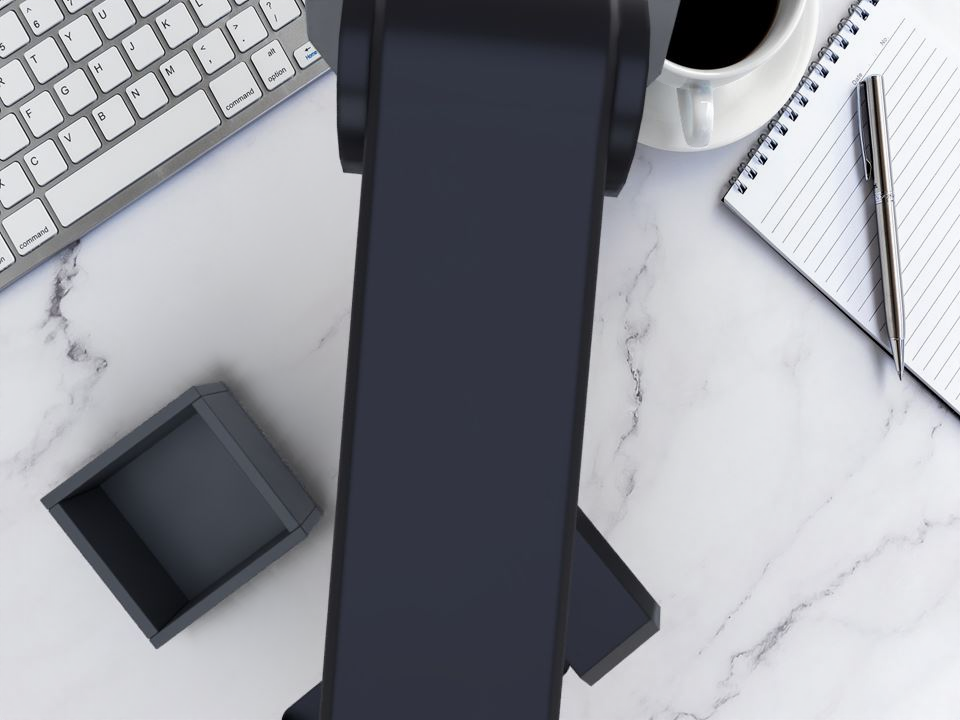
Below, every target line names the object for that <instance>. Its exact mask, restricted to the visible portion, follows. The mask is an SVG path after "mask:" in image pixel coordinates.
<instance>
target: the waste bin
mask: <svg viewBox="0 0 960 720" xmlns="http://www.w3.org/2000/svg"><path fill="white" fill-rule="evenodd" d="M39 501H40V503H41V504H42V506H43V507H44V508H45V509H46V510H47V511H48V513H49V514H50V516H51V517H52V518H53V520H54V521H55V522H56V524H58V526H59V527H60V529H62V531H63V532H64V533H65V535H66V536H67V537H68V539H69V540H70V542H72V544H73V545H74V546H75V548H76V549H77V550H78V551H79V553H80V554H81V555H82V557H83V558H84V559H85V560H86V562H87V563H88V564H89V566H90V567H91V568H92V569H93V571H94V572H95V574H96V575H98V577H99V578H100V580H101V582H103V583H104V585H105V586H106V587H107V589H108V590H109V591H110V592H111V594H112V595H113V596H114V598H115V599H116V600H117V601H118V603H119V604H120V605H121V607H122V608H123V609H124V610H125V612H126V614H128V616H129V617H130V618H131V620H132V621H133V622H134V624H136V626H137V627H138V628H139V630H140V631H141V632H142V634H143V635H144V636H145V637H146V638H147V640H148V641H149V642H150V644H151V645H152V646H153V647H154V649H155V650H159V649H160V648H161V647H163V646H164V645H165V644H167V643H169V641H171V640H172V639H173V638H174V637H176V636H177V635H178V634H180V633H182V632H183V631H184V630H186V628H188V627H189V626H191V625H192V624H193V623H194V622H196V621H198V620H199V619H200V618H201V617H203V616H204V615H205V614H207V613H208V612H209V611H211V610H212V609H213V608H215V607H216V606H218V605H219V604H220V603H221V602H222V601H224V600H225V599H227V598H229V596H231V595H233V593H235V592H236V591H237V590H239V589H240V588H241V587H242V586H244V585H246V584H247V583H248V582H250V581H251V580H252V579H254V578H255V577H256V576H258V574H260V573H261V572H263V571H264V570H265V569H266V568H267V569H268V567H269V566H271V565H272V564H273V563H275V562H276V561H277V560H279V559H280V558H281V557H282V556H284V555H285V554H287V553H288V552H290V551H291V550H292V549H294V548H295V547H296V546H298V545H299V544H300V543H301V542H303V541H304V540H305V539H306V538H308V537H309V535H311V533H312V532H313V530H314V528H315V527H316V526H317V524H319V521H320V520H321V518H323V516H324V514H325V513H324V512H323V510H322V509H321V507H320V506H319V504H317V502H316V501H315V499H314V498H313V497H312V496H311V494H310V493H309V492H308V491H307V489H306V488H305V487H304V485H303V484H302V483H301V481H300V480H299V479H298V477H297V476H296V475H295V473H294V472H293V471H292V469H291V468H290V467H289V465H288V464H287V463H286V461H284V459H283V458H282V457H281V455H280V454H279V453H278V452H277V450H276V448H275V447H274V446H273V444H272V443H271V442H270V441H269V439H268V437H266V436H265V434H264V433H263V431H262V430H261V429H260V428H259V426H258V425H257V424H256V422H255V421H254V420H253V418H252V417H251V416H250V414H249V412H247V411H246V409H245V408H244V406H243V405H242V404H241V403H240V401H239V400H238V399H237V397H236V396H235V395H234V394H233V392H232V391H231V390H230V388H229V387H228V386H227V384H226V383H225V382H224V381H223V380H220V381H215V382H209V383H203V384H197V385H192V386H191V387H189V388H188V389H186V390H185V391H184V392H183V393H181V394H179V396H177V397H176V398H174V399H173V400H172V401H170V402H169V403H168V404H167V405H165V406H163V408H161V409H159V410H158V411H157V412H156V413H153V415H151V416H150V417H149V418H148V419H146V420H145V421H143V422H142V423H141V424H139V425H138V426H137V427H135V428H134V429H133V430H131V431H130V432H129V433H127V434H126V435H125V436H123V437H122V438H120V439H119V440H118V441H116V443H113V445H111V446H110V447H109V448H107V449H106V450H104V451H103V452H101V453H100V454H99V455H98V456H97V457H95V458H94V459H92V460H91V461H90V462H89V463H87V464H86V465H84V466H83V467H81V468H80V469H78V470H77V471H76V472H75V473H73V474H72V475H71V476H70V477H68V478H67V479H66V480H64V481H63V482H61V483H60V484H58V485H57V486H56V487H54V488H53V489H52V490H51V491H49V492H48V493H46V494H44V495H43V496H42V497H41V498H40V499H39Z"/></svg>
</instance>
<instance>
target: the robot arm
mask: <svg viewBox="0 0 960 720" xmlns="http://www.w3.org/2000/svg"><path fill="white" fill-rule="evenodd" d="M680 4H681V0H304V11H305V12H304V13H305V28H306V36H307V40H308V42H309V43H310V44H311V46H312V47H313V48H314V49H315V50H316V52H317V53H318V55H319V56H320V57H321V58H322V60H324V63H326V64H327V66H328V67H329V69H330V70H332V72H333V73H334V75H336V85H335V86H336V134H337V135H336V136H337V144H338V145H337V147H338V148H337V149H338V158H339V162H340V166H341V169H342V173H343V174H353V175H361V183H360V195H359V208H358V220H357V230H356V231H357V232H356V245H355V258H354V270H353V281H352V282H353V284H352V296H351V309H350V322H349V334H348V348H347V359H346V373H345V384H344V385H345V386H344V395H343V397H344V398H343V409H342V421H341V422H342V423H341V436H340V447H339V462H338V474H337V486H336V496H335V499H336V500H335V511H334V524H333V537H332V547H331V548H332V549H331V561H330V572H329V573H330V574H329V587H328V600H327V611H326V612H327V613H326V625H325V637H324V638H325V639H324V648H323V649H324V650H323V651H324V652H323V664H322V675H321V680H320V681H319V682H318V683H316V685H314V686H313V687H312V688H311V689H309V690H308V691H307V692H306V693H305V694H303V695H302V696H301V697H300V698H298V699H297V700H296V701H294V702H293V703H292V704H290V706H288V707H287V708H286V709H285V710H284V712H283V713H282V716H281V720H560V717H561V716H560V715H561V705H562V702H561V701H562V693H563V691H562V690H563V681H564V677H565V675H566V674H568V672H569V670H570V668H571V669H572V671H574V673H575V674H576V675H577V676H578V678H579V679H580V680H582V681H583V682H584V683H585V684H587V685H588V686H590V687H593V686H594V685H595V684H596V683H597V682H599V681H600V680H601V679H602V678H604V677H605V676H606V675H607V674H609V672H611V671H613V669H615V668H616V667H617V666H618V665H619V664H620V663H622V662H623V661H625V659H627V658H628V657H629V656H630V655H631V654H633V653H634V652H635V651H636V650H638V649H640V648H641V646H643V645H644V644H645V643H646V642H647V641H648V640H650V639H651V638H652V637H654V635H656V634H657V633H658V632H659V631H660V630H661V611H662V609H661V605H660V603H658V602H657V600H656V599H655V598H654V597H653V596H652V595H651V593H650V592H649V591H648V589H646V587H645V586H644V584H643V583H642V582H641V581H640V579H639V578H638V577H637V576H636V575H635V574H634V573H633V571H632V570H631V568H630V567H629V566H628V565H627V563H626V562H625V561H624V560H623V558H621V557H620V555H619V554H618V552H617V551H616V550H615V549H614V547H613V546H612V545H611V544H610V543H609V541H608V540H607V539H606V538H605V537H604V536H603V534H602V533H601V532H600V530H598V528H597V527H596V526H595V524H594V523H593V522H592V521H591V519H590V518H589V517H588V516H587V515H586V513H585V512H584V510H582V509H581V507H580V506H579V493H580V484H581V483H580V482H581V470H582V459H583V447H584V435H585V425H586V414H587V400H588V391H589V390H588V389H589V377H590V368H591V367H590V366H591V365H590V364H591V353H592V342H593V331H594V330H593V329H594V319H595V309H596V308H595V307H596V297H597V283H598V272H599V260H600V249H601V238H602V224H603V214H604V213H603V212H604V202H605V197H606V198H607V197H608V198H616V199H617V198H618V197H619V196H620V193H621V191H622V190H623V188H624V187H625V185H626V183H627V180H628V177H629V173H630V170H631V168H632V164H633V161H634V158H635V154H636V150H637V146H638V141H639V137H640V131H641V126H642V121H643V116H644V110H645V103H646V96H647V95H646V94H647V88H648V87H650V85H651V84H652V83H653V82H655V81H656V80H657V79H658V77H660V76H661V75H662V73H663V72H662V71H663V69H664V66H665V61H666V59H667V58H666V57H667V54H668V49H669V45H670V42H671V38H672V35H673V30H674V27H675V22H676V18H677V16H678V11H679V8H680Z"/></svg>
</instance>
